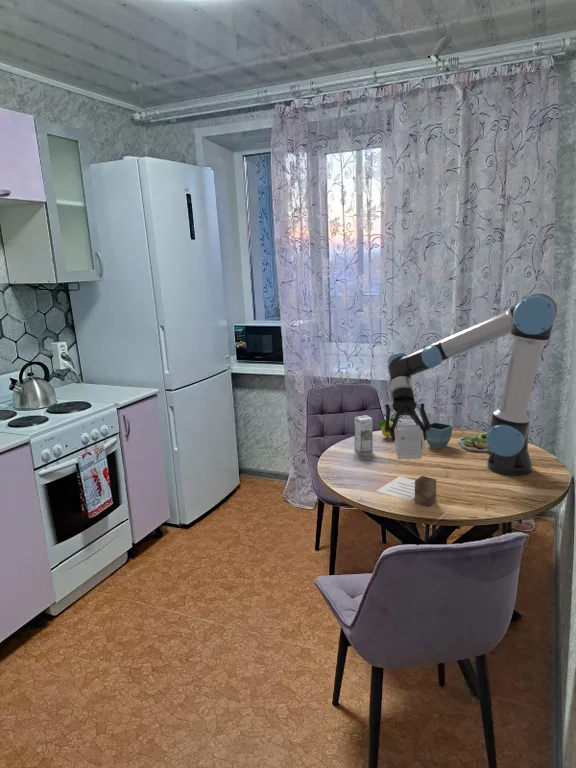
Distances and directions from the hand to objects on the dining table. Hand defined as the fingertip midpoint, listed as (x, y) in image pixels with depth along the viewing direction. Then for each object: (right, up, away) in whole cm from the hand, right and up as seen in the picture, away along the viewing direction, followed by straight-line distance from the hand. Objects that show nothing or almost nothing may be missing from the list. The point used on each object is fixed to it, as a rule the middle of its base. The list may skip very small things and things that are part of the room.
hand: (410, 448), depth 172 cm
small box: (0, -3, +4) cm, 5 cm away
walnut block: (+3, -17, -7) cm, 18 cm away
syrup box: (-9, -6, +44) cm, 45 cm away
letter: (-1, -14, +4) cm, 15 cm away
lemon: (+4, -3, +58) cm, 59 cm away
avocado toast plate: (+40, -5, +44) cm, 60 cm away
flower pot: (+23, -5, +45) cm, 50 cm away
